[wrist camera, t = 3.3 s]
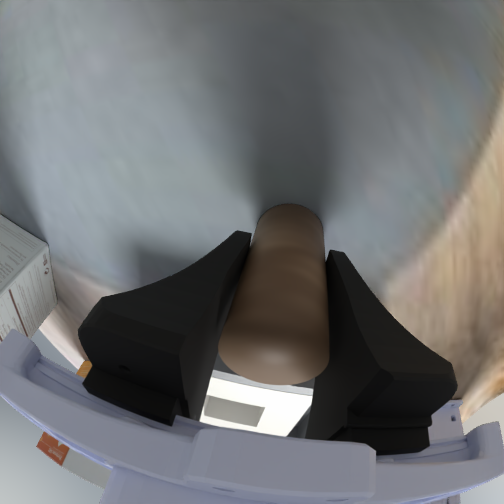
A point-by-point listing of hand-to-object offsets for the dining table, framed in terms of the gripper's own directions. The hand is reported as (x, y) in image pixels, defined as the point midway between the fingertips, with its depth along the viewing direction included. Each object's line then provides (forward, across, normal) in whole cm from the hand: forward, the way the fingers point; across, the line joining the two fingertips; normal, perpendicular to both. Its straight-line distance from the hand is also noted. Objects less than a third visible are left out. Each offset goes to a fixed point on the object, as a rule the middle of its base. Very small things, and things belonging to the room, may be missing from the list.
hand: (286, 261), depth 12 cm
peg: (+2, 0, 0) cm, 2 cm away
